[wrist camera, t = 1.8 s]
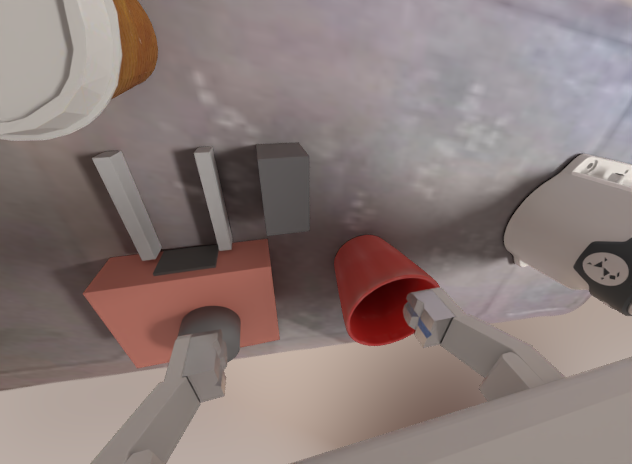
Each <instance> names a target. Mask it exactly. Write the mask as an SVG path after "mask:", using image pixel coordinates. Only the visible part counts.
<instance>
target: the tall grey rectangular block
mask: <svg viewBox="0 0 632 464" xmlns="http://www.w3.org/2000/svg"><path fill="white" fill-rule="evenodd" d="M256 150H257V160H258V168H259V176H260V184H261V192H262V200H263V209H264V217H265V225H266V233H267V236H272V235H280V234H289V233H297V232H305V231H310V206H309V155H308V154H307V153H306V152H305V150H304V149H303V148H302V146H301V145H300V144H299V142H298V143H276V144H256Z"/></svg>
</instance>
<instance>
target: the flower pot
mask: <svg viewBox="0 0 632 464" xmlns="http://www.w3.org/2000/svg"><path fill="white" fill-rule="evenodd" d="M334 268H335V274H336V279H337V286H338V291H339V297H340V302H341V308H342V313H343V318H344V322H345V326H346V330H347V332H348V334H349V336H350V337H351V338H352V339H353V340H354V341H356V342H358V343H360V344H363V345H368V346H380V345H386V344H390V343H393V342H396V341H399V340H401V339H404V338H406V337H408V336H409V335H411V334H413V333H414V331H415V330H414V329H413V328H411V327H410V326H408V324H407V322H406V321H405V318H404V315H403V308H404V305H405V304H406V303H407V302H408V301H407V299H406V298H407V295H408V294H409V293H411V292H416V291H421V290H426V289H432V288H438V287H440V286H439V285H438V283H437V282H436V281H435V280H434V279H433V278H432V277H431V276H429V275H428V274H427V273H426V272H425V271H424V270H422V269H421V268H420V267H419V266H417V265H416V264H415V263H413V262H412V261H411V260H410V259H408V258H407V257H406V256H405V255H403V254H402V253H401V252H400V251H398V250H397V249H395V248H394V247H393V246H391V245H390V244H388V243H387V242H386V241H384V240H383V239H382V238H380V237H378V236H374V235H363V236H358V237H355V238H353V239H351V240H349V241H348V242H346V243H345V244H344V245H343V246H342V247H341V248H340V249H339V251H338V252H337V254H336V257H335V260H334Z"/></svg>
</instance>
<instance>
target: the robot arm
mask: <svg viewBox="0 0 632 464" xmlns="http://www.w3.org/2000/svg"><path fill="white" fill-rule="evenodd" d="M504 245H505V247H506V249H507V250H508V251H509V252H510V253H512V254H513V256H514V262H515V264H517V265H519V266H520V267H525V266H528V265H529V266H531V267H532V268H534V269H536V270H538V271H539V272H541V273H543V274H545V275H546V276H548V277H550V278H552V279H553V280H555V281H557V282H559V283H560V284H562V285H564V286H566V287H568V288H570V289H572V290H589V292H590V294H591V295H593V296H594V297H596V298H597V299H599V300H600V301H602V302H603V303H604V304H605V305H607V306H608V307H610V308H612V309H615V310H617V311H619V312H620V313H622V314H624V315H626V316H632V164H628V163H624V162H619V161H615V160H610V159H606V158H602V157H597V156H593V155H588V154H581V155H579V156H578V157H576V158H575V159H574V160H573V161H572V162H571V163H570V164H569V165H568V166H567V167H566V168H565V169H564V170H562V171H561V172H560V173H559V174H558V175H556V176H555V177H553V178H552V179H550V180H548V181H547V182H545V183H544V184H543V185H541V186H540V187H539V188H537V189H536V190H535V191H534V192H533V193H531V194H530V195H529V196H528V197H527V198H526V199H525V200H524V202H523V203H522V204H521V205H520V206H519V208H518V209H517V210H516V212H515V213H514V214H513V216H512V218H511V219H510V221H509V223H508V225H507V228H506V231H505V235H504ZM406 299H407V301H408V302H407V303H406V304H405V305H404V308H403V315H404V318H405V321H406V322H407V324H408V326H410V327H411V328H413V329H414V330H415V331H414V335H415V336H416V338H417V339H418V341H419V342H420V344H421V345H422V347H423V348H425V347H429V346H435V345H439V344H441V346H442V347H443V348H445V349H446V350H447V351H449V352H450V353H451V354H453V355H454V356H455V357H457V358H458V359H459V360H461V361H462V362H464V363H465V364H466V365H468V366H469V367H470V368H472V369H473V370H475V371H476V372H477V373H479V374H480V375H481V376H483V377H484V380H483V381H482V383H481V384H480V385H479V390H480V391H481V393H482V394H483V395H484V397H485V398H486V400H487V401H488V402H485V403H483V404H479V405H476V406H473V407H469V408H466V409H463V410H460V411H456V412H453V413H450V414H447V415H444V416H440V417H437V418H434V419H431V420H428V421H425V422H421V423H418V424H415V425H412V426H408V427H405V428H402V429H399V430H396V431H392V432H389V433H386V434H383V435H380V436H377V437H374V438H370V439H367V440H364V441H360V442H358V443H354V444H351V445H348V446H344V447H341V448H338V449H335V450H332V451H328V452H325V453H322V454H319V455H316V456H313V457H310V458H307V459H303V460H300V461H297V462H293V463H290V464H632V357H629V358H627V359H623V360H620V361H617V362H614V363H610V364H607V365H604V366H601V367H598V368H594V369H591V370H588V371H585V372H581V373H579V374H575V375H572V376H569V377H565V376H564V375H563V374H562V373H561V372H559V371H558V370H557V369H556V368H555V367H554V366H553V365H552V364H551V363H550V362H549V361H548V360H547V359H546V358H545V357H543V356H542V355H541V354H540V353H539V352H538V351H537V350H536V349H535V348H534V347H533V346H532V345H530V344H528V343H526V342H524V341H522V340H520V339H518V338H516V337H514V336H512V335H510V334H508V333H506V332H504V331H502V330H500V329H498V328H496V327H494V326H492V325H490V324H488V323H486V322H484V321H482V320H480V319H478V318H476V317H474V316H472V315H470V314H468V315H466V314H465V312H464V311H463V310H462V309H461V308H460V307H459V306H458V305H457V304H456V303H455V302H454V301H453V300H452V299H451V297H450V296H449V295H448V294H447V293H446V292H445V291H444V290H443V289H442V288H440V287H438V288H432V289H426V290H421V291H416V292H411V293H409V294H408V295H407V298H406ZM222 337H223V334H222V331H221V329H219V330H213V331H207V332H201V333H194V334H189V335H183V336H178V337H177V339H176V340H175V343H174V347H173V350H172V354H171V358H170V361H169V365H168V368H167V372H166V376H165V379H164V382H160V383H159V384H158V385H157V386H156V387H155V388H154V389H153V391H152V392H151V393H150V394H149V395H148V397H147V398H146V399H145V400H144V401H143V403H141V405H140V406H139V407H138V408H137V409H136V411H135V412H134V413H133V414H132V415H131V416H130V418H129V419H128V420H127V421H126V422H125V424H124V425H123V426H122V427H121V428H120V429H119V430H118V432H117V433H116V434H115V435H114V436H113V438H112V439H111V440H110V441H109V442H108V443H107V445H106V446H105V447H104V448H103V449H102V450H101V452H100V453H99V454H98V455H97V456H96V457H95V459H94V460H93V461H92V462H91V464H166V463H167V461H168V459H169V457H170V456H171V454H172V452H173V451H174V449H175V447H176V446H177V444H178V442H179V440H180V439H181V437H182V435H183V434H184V432H185V430H186V428H187V426H188V425H189V423H190V421H191V420H192V418H193V416H194V414H195V413H196V411H197V410H198V408H199V406H200V403H201V402H205V401H208V400H212V399H216V398H220V397H223V396H224V395H225V385H226V376H225V373H224V369H225V368H226V367H227V347H226V343H225V341H223V340H222Z"/></svg>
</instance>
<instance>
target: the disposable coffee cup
mask: <svg viewBox="0 0 632 464" xmlns="http://www.w3.org/2000/svg"><path fill="white" fill-rule="evenodd" d="M157 56H158V47H157V40H156V36H155V33H154V30H153V27H152V24H151V22H150V20H149V18H148V16H147V14H146V12H145V11H144V9H143V8H142V6H141V5H140V3H139V2H138V1H137V0H0V139H5V140H12V141H25V140H48V139H52V138H56V137H60V136H64V135H68V134H71V133H73V132H75V131H77V130H79V129H81V128H83V127H85V126H87V125H88V124H89V123H91V122H92V121H93V120H94V119H96V118H97V117H98V116H99V115H100V114H101V113H102V112H103V110H104V109H105V108H106V106H107V105H108V104H109V102H110V100H111V99H113V98H115V97H116V96H118V95H120V94H122V93H123V92H125V91H127V90H129V89H131V88H133V87H134V86H136V85H138V84H140V83H142V82H144V81H145V80H146V79H147V78H148V77H149V76H150V75H151V74H152V72H153V71H154V69H155V65H156V62H157Z"/></svg>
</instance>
